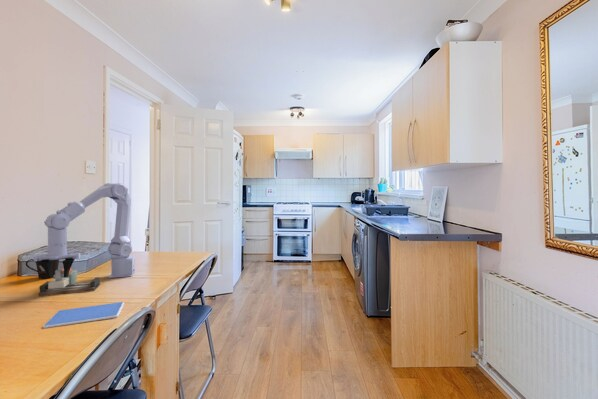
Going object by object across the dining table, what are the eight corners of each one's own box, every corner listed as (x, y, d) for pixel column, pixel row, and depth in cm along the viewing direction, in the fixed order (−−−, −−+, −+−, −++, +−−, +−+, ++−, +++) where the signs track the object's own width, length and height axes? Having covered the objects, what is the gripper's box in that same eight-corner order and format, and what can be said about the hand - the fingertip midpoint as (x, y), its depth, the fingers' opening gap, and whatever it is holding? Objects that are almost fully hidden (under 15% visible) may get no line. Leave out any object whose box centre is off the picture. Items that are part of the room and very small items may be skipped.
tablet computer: (41, 330, 83) (41, 326, 83) (58, 313, 95) (58, 309, 95) (117, 319, 91) (117, 315, 91) (124, 304, 102) (124, 301, 102)
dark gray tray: (100, 284, 122) (100, 276, 122) (94, 290, 114) (94, 282, 114) (48, 289, 115) (48, 280, 115) (38, 296, 108) (38, 287, 108)
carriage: (69, 283, 117) (68, 268, 116) (63, 287, 112) (63, 271, 112) (54, 284, 115) (53, 269, 115) (48, 289, 110) (47, 272, 110)
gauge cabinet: (76, 281, 125) (76, 270, 125) (71, 285, 120) (71, 274, 120) (60, 282, 123) (59, 271, 123) (53, 287, 118) (53, 275, 118)
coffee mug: (65, 274, 135) (64, 254, 134) (47, 280, 126) (46, 258, 126) (43, 273, 136) (42, 253, 136) (24, 279, 127) (23, 257, 127)
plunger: (71, 277, 124) (71, 267, 124) (68, 280, 120) (68, 270, 120) (62, 278, 122) (62, 268, 122) (58, 280, 119) (58, 270, 119)
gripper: (29, 247, 106) (29, 282, 107) (75, 244, 111) (76, 278, 112) (38, 243, 113) (39, 276, 114) (82, 241, 118) (82, 273, 119)
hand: (58, 277), depth 113 cm, fingers open, 5 cm apart
